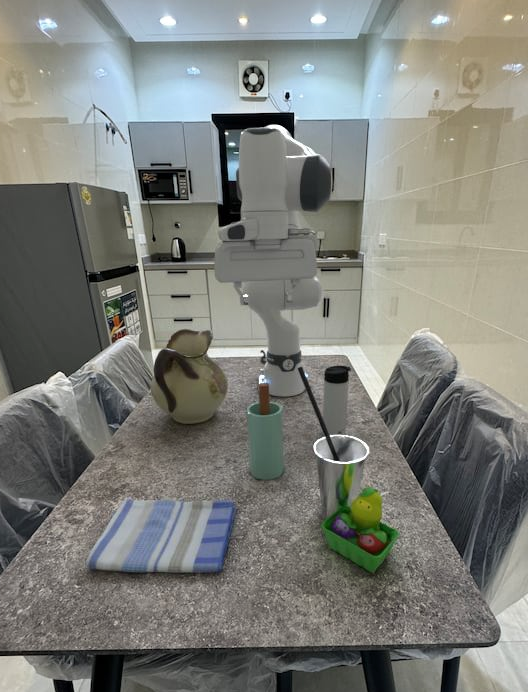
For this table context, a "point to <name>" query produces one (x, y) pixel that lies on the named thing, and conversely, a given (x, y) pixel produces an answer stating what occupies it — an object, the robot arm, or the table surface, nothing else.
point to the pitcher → (188, 378)
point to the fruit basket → (361, 531)
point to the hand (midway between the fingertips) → (267, 303)
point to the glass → (336, 463)
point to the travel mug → (335, 399)
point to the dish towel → (165, 537)
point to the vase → (265, 441)
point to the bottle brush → (264, 399)
